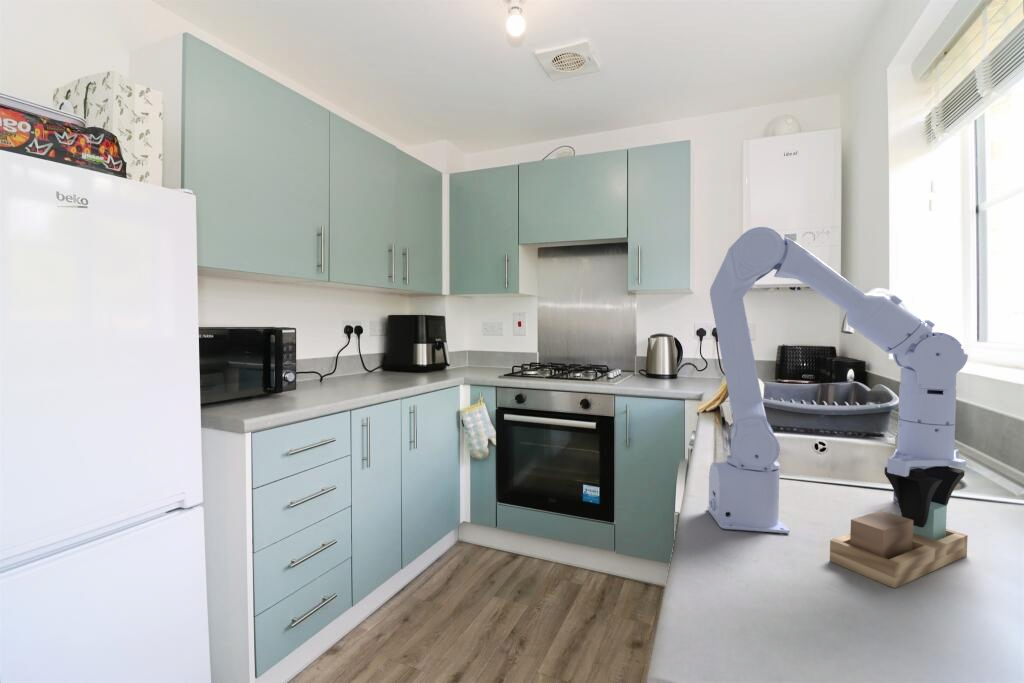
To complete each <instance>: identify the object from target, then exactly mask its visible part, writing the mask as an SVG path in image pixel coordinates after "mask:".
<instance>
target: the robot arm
mask: <svg viewBox="0 0 1024 683" xmlns="http://www.w3.org/2000/svg"><path fill="white" fill-rule="evenodd" d="M773 270H774V271H776V272H775V274H774V276H773V277H774V278H782V279H791V280H797V281H799V282H801V283H802V284H804V285H805V286H807V287H808V288H809V289H812V290H813V291H814V292H816V293H817V294H820V296H822V297H824V298H825V299H826V300H829V301H830V302H831V303H832V304H834V305H836V306H838V307H839V308H841V309H842V310H843V311H844V312H845V313H846V322H847V325H848V326H849V327H850V328H852V329H853V330H855V331H856V332H858V333H859V334H861V336H863V337H865V338H866V340H868V341H870V342H872V343H873V344H874V345H875V346H877V347H879V348H880V349H881V350H883V351H884V352H885V353H887V354H892V358H893V360H894V363H896V365H897V367H900V376H899V378H900V380H899V381H900V382H899V383H900V384H899V388H898V389H899V390H898V416H897V419H898V420H897V433H898V442H897V449H896V450H895V449H894V452H893V454H892V456H891V457H888V458H887V462H886V463H887V465H886V466H885V467H884V475H885V477H886V478H887V480H888V482H890V485H891V486H892V489H893V492H894V491H895V494H896V496H897V500H898V503H899V505H898V507H899V512H900V516H901V515H902V517H905V518H908V519H911V520H913V525H915V526H918V527H924V526H925V524H926V522H927V518H928V513H929V508H930V503H931V502H935V503H938V504H942V505H946V506H947V507H948V504H949V501H950V499H951V496H952V494H953V492H954V490H955V488H956V487H957V485H958V484H959V483H960V481H961V480H962V479H963V478H964V476H965V472H966V471H965V470H963V469H961V468H962V467H966V466H967V461H966V459H962V458H960V449H955V436H956V433H955V432H956V416H957V415H956V412H957V373H958V372H960V371H961V370H962V369H963V368H964V367H965V365H966V364H967V362H968V358H969V355H968V354H967V353H965V351H964V350H965V349H964V348H962V346H963V345H962V344H961V342H960V340H958V339H957V338H955V337H954V336H952V335H951V334H947V333H945V332H938V331H936V332H934V331H933V327H935V323H934V322H933V321H931V320H929V319H925V320H922V319H921V318H920V317H918V316H917V315H915V314H914V313H912V312H910V311H909V310H908V309H906V308H905V307H903V306H901V303H902V302H903V300H902V299H901V298H899V297H898V296H896V295H893V294H892V295H889V296H887V295H886V294H884V293H882V292H880V293H879V292H878V293H866V292H865V293H864V291H863V290H861V289H860V288H858V287H856V286H855V285H854V284H853V283H851V282H850V281H849V280H847V279H846V278H845V277H843V276H842V275H840V274H839V273H838V272H836V271H835V270H834V269H833V268H832V267H830V266H828V264H826V263H825V262H823V261H822V260H821V259H820V258H818V257H816V255H814V254H813V253H812V252H810V251H808V250H807V249H806V248H805V247H803V246H801V244H799V243H797V242H796V241H795V240H792V239H791V238H788V237H786V236H785V237H784V238H783V237H782V235H781V234H780V233H779V232H778V231H777V230H775V229H773V228H771V227H768V226H767V227H766V226H757V227H753V228H751V229H748V230H746V231H745V232H744V233H742V235H740V236H739V237H738V238H737V239H736V240H735V241H734V243H732V244H731V245H730V247H728V250H727V251H726V255H725V257H724V259H723V261H722V263H721V265H720V267H719V269H718V271H717V273H716V275H715V278H714V280H713V282H712V284H711V286H710V289H709V297H710V303H711V309H712V313H713V318H714V324H715V329H716V334H717V340H718V344H719V346H718V347H719V350H720V355H721V360H722V367H723V372H724V378H725V381H726V383H725V384H726V388H727V392H728V393H727V395H728V398H729V405H730V409H731V416H732V424H731V427H730V431H729V433H730V434H729V435H730V439H731V441H730V450H731V452H730V454H727V456H726V460H724V461H720V462H718V461H717V462H716V461H715V462H712V463H710V467H709V473H708V474H709V475H708V476H709V477H708V505H707V509H706V510H708V512H709V513H710V515H711V516H712V518H713V519H714V520H715V521H716V523H717V525H718V526H719V528H721V529H724V530H736V531H748V532H749V531H750V532H765V533H766V532H767V533H780V534H789V533H790V529H789V528H788V527H787V526H786V525H785V524H784V522H782V520H780V519H779V509H780V508H779V506H780V505H779V504H780V469H781V468H780V467H781V466H780V465H781V464H780V463H779V462H778V461H777V460H778V458H779V455H780V451H781V449H780V448H781V446H780V442H779V439H778V438H777V437H776V435H775V434H774V429H773V427H772V426H771V424H770V423H769V422H768V419H767V418H768V417H767V413H766V410H765V406H764V402H763V401H764V400H763V397H762V392H761V387H760V382H759V376H758V370H757V365H756V361H755V360H756V359H755V356H754V355H755V354H754V349H753V345H752V340H751V335H750V334H751V333H750V329H749V324H748V319H747V313H746V306H745V303H744V297H745V296H746V295H747V294H748V292H749V291H750V290H751V289H752V287H753V286H755V283H756V282H758V281H759V280H761V279H763V278H764V277H765V276H767V275H768V274H770V273H771V272H772V271H773Z"/></svg>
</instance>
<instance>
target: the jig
mask: <svg viewBox="0 0 1024 683" xmlns="http://www.w3.org/2000/svg"><path fill="white" fill-rule="evenodd" d="M968 536H969V535H968V534H964V533H961V532H957V531H955V530H951V529H948V528H946V537H945V538H942V539H940V540H937V541H936V540H933V539H930V538H927V537H924V536H921V535H918V534H914V533H913V548H912V551H909V552H907V553H904V554H902V555H899V556H897V557H894V558H892V559H889V560H888V559H886V558H883V557H881V556H878V555H875V554H873V553H870V552H867V551H865V550H862V549H860V548H857V547H854V546H852V545H850V533H848V534H847V533H846V534H845V535H841V536H838V537H835V538H832V539H830V540H829V543H830V544H829V547H830V548H829V562H831V563H833V564H836V565H838V566H841V567H843V568H845V569H848V570H851V571H853V572H855V573H858V574H860V575H863V576H865V577H867V578H868V579H872V580H874V581H876V582H879V583H881V584H883V585H885V586H888V587H891V588H893V589H896V588H899V587H901V586H903V585H905V584H908V583H909V582H912V581H914V580H917V579H918V578H921V577H923V576H924V575H927V574H930V573H932V572H933V571H936V570H938V569H940V568H943V567H945V566H948V565H949V564H952V563H954V562H957V561H958V560H960V559H963V558H964V557H967V556H968Z"/></svg>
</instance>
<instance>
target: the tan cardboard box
mask: <svg viewBox="0 0 1024 683" xmlns="http://www.w3.org/2000/svg"><path fill="white" fill-rule="evenodd" d="M849 534H850V545H852V546H854V547H857V548H860V549H862V550H865V551H867V552H870V553H873V554H875V555H878V556H881V557H883V558H886V559H888V560H889V559H892V558H894V557H897V556H899V555H902V554H904V553H907V552H909V551H912V548H913V520H911V519H908V518H905V517H901V515H897V514H894V513H891V512H888V511H884V510H882V509H880V510H878V511H874V512H870V513H868V514H865V515H861V516H858V517H855V518H850V533H849Z"/></svg>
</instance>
